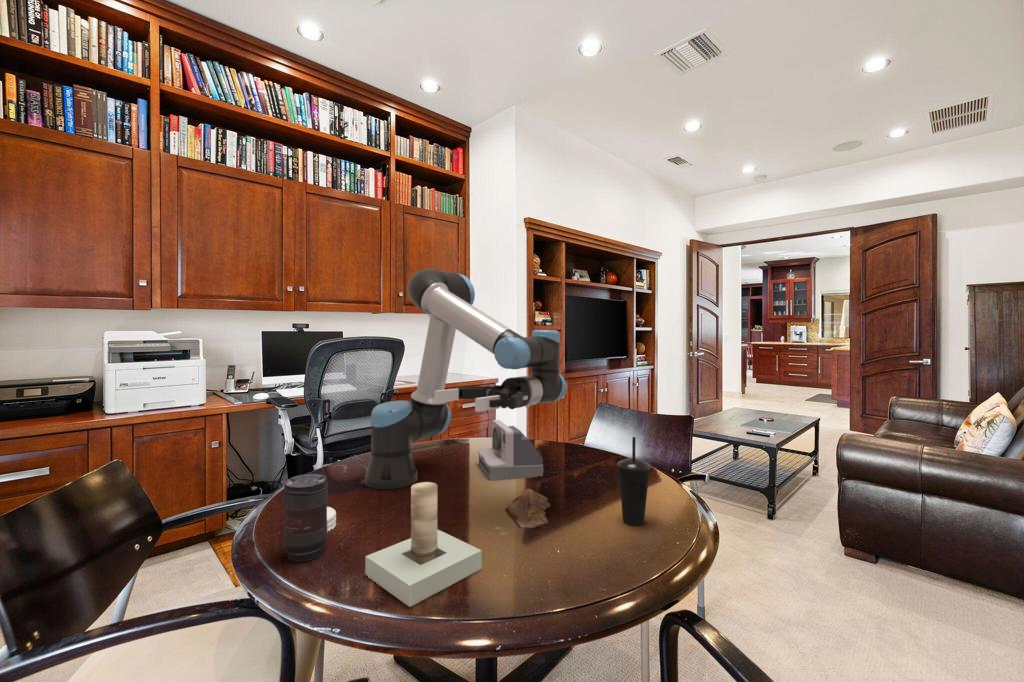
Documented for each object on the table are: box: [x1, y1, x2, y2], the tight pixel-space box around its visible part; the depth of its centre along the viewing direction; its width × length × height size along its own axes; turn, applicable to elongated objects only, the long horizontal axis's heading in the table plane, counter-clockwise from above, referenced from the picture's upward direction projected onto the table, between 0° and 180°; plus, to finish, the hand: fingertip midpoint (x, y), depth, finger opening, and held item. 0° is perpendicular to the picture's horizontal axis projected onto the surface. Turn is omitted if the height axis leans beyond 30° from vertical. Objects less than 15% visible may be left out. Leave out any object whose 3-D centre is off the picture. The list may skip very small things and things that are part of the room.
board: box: [364, 528, 483, 608], centre depth 82 cm, size 14×16×4 cm
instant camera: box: [477, 419, 545, 482], centre depth 145 cm, size 21×21×15 cm
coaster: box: [327, 506, 337, 533], centre depth 101 cm, size 10×10×4 cm
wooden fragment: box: [505, 488, 552, 530], centre depth 114 cm, size 26×11×1 cm, turn 172°
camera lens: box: [282, 473, 329, 563], centre depth 89 cm, size 8×8×15 cm
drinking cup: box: [616, 436, 652, 527], centre depth 105 cm, size 8×8×20 cm
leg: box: [410, 481, 438, 565], centre depth 82 cm, size 5×5×16 cm
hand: (454, 400), depth 95 cm, fingers open, 13 cm apart
